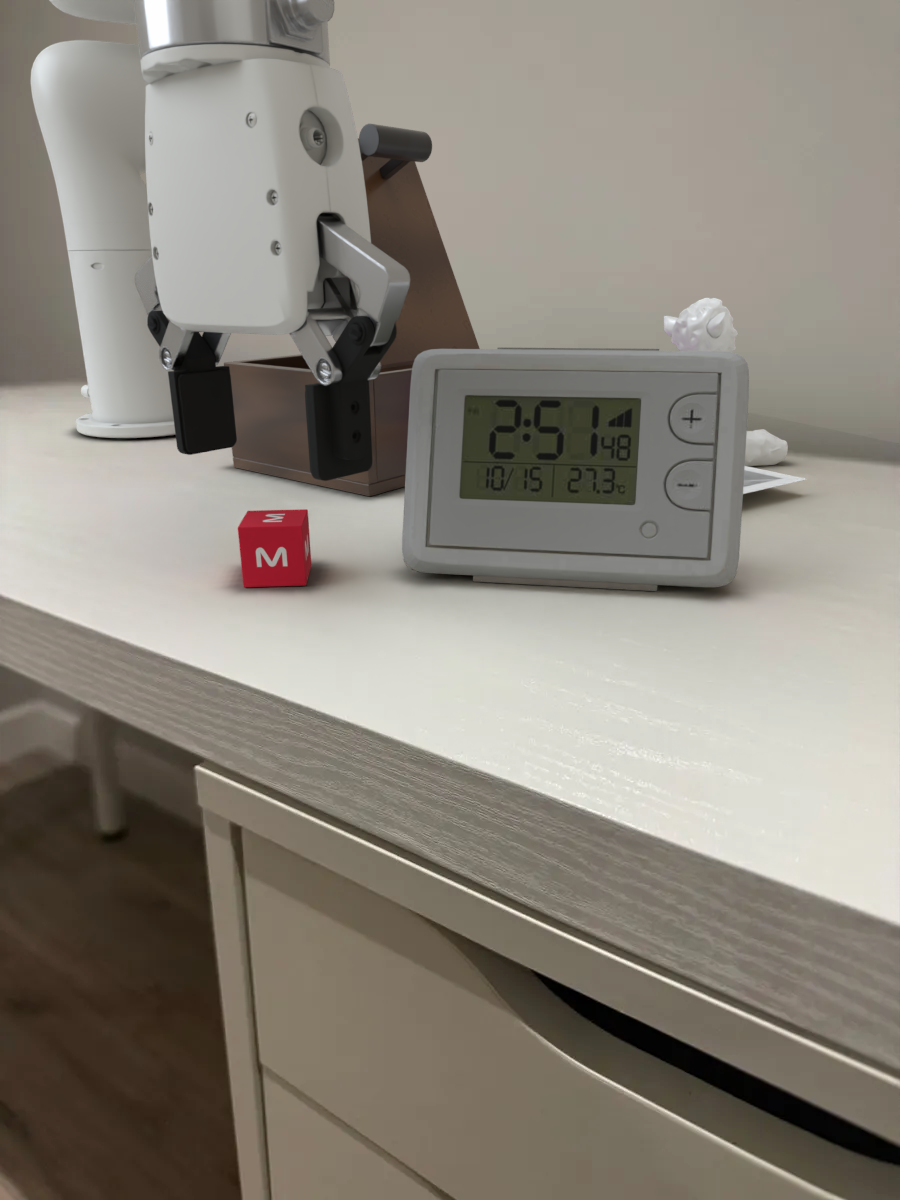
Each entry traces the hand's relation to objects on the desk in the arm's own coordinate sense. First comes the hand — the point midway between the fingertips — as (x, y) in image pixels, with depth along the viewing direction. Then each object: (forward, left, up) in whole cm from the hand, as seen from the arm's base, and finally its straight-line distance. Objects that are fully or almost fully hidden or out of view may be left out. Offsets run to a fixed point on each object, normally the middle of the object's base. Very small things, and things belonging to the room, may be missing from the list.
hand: (270, 461), depth 41 cm
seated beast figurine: (+5, +38, -6) cm, 39 cm away
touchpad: (+9, +26, -6) cm, 28 cm away
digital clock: (+10, +10, -6) cm, 15 cm away
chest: (-15, +20, -6) cm, 26 cm away
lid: (-12, +20, +9) cm, 25 cm away
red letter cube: (0, 0, -6) cm, 6 cm away
